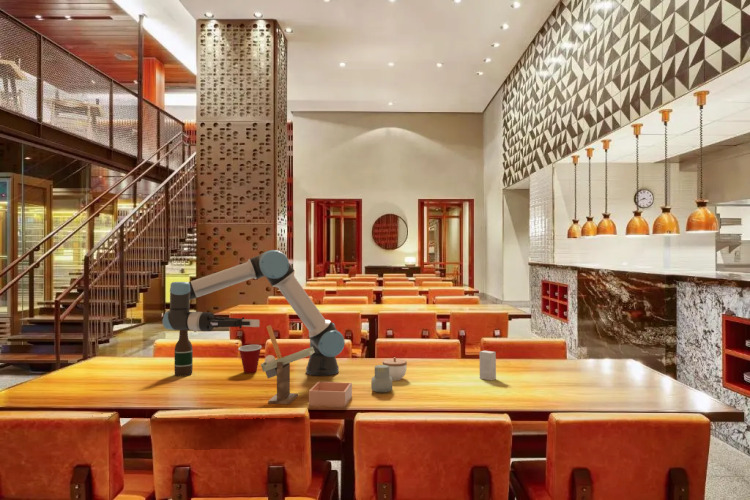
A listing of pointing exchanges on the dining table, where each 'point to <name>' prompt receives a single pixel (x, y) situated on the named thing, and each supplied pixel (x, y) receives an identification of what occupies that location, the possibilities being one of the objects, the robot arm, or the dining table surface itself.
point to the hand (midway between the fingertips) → (258, 323)
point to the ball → (269, 359)
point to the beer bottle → (183, 355)
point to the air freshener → (381, 379)
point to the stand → (283, 386)
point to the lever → (272, 367)
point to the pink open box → (330, 394)
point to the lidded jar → (396, 368)
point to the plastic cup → (250, 357)
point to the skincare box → (487, 365)
